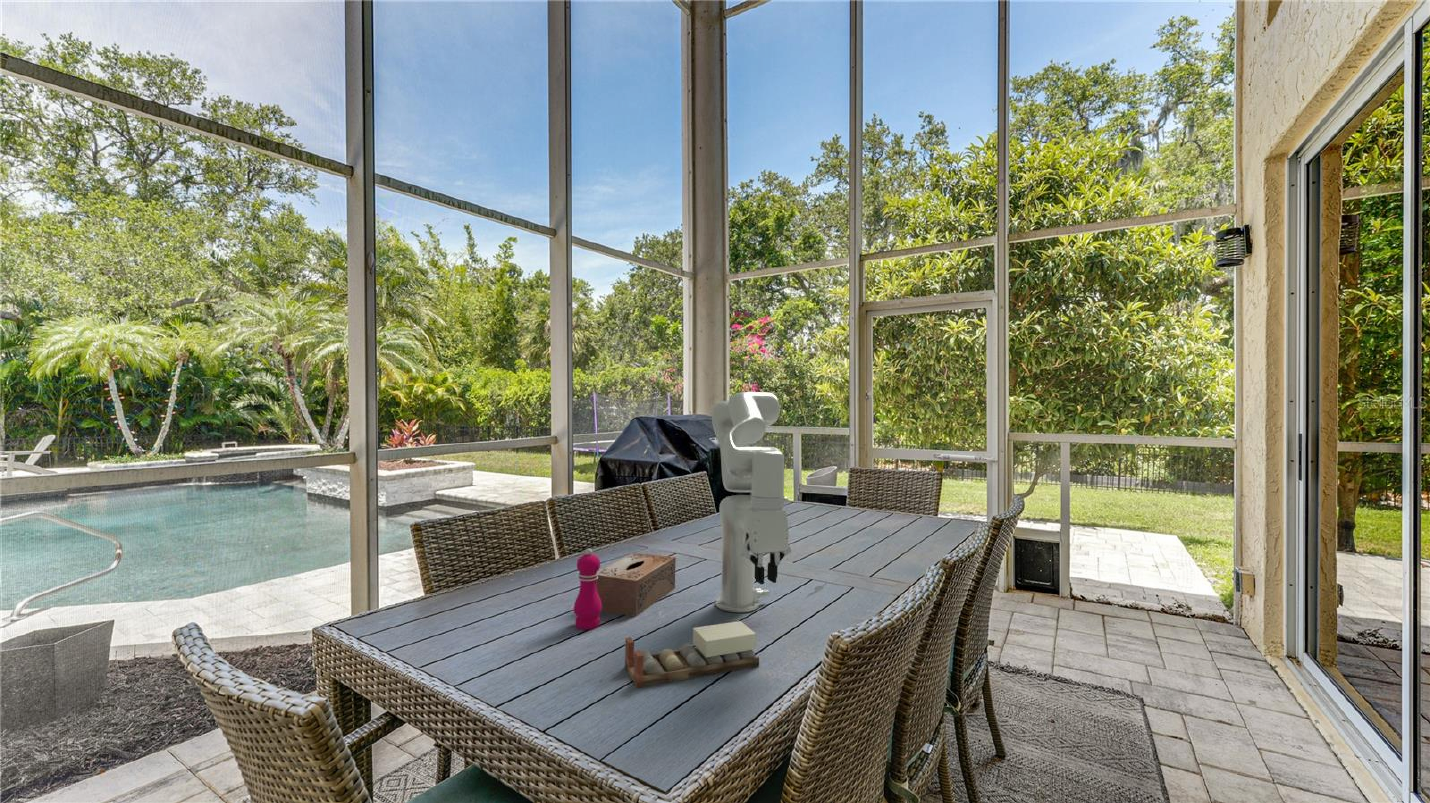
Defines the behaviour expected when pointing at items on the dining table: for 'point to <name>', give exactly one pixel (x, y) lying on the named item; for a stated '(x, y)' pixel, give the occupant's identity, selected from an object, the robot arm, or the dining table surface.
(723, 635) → the slab
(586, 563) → the pepper mill
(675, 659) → the roller
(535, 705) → the dining table surface
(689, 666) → the track
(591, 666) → the dining table surface
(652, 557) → the tissue box cover
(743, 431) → the robot arm
